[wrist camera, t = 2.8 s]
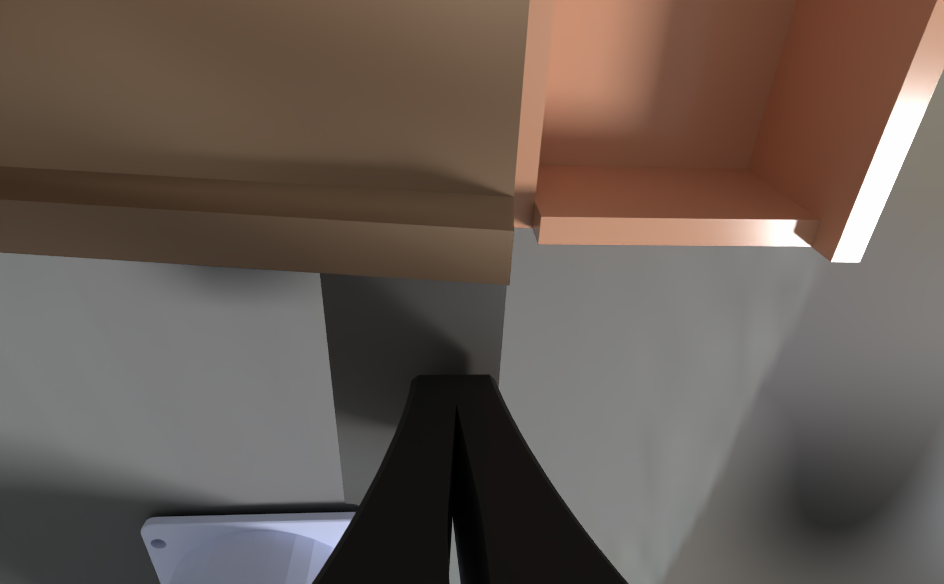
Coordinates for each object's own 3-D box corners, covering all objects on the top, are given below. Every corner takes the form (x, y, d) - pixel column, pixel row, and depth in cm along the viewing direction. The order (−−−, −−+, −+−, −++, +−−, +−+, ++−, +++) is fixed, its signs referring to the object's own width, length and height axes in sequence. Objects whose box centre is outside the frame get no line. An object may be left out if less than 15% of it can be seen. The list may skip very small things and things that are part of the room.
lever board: (489, 476, 13) (485, 577, 11) (-116, 431, 13) (-232, 519, 11) (555, -365, 6) (578, -526, 4) (-663, -399, 7) (-1196, -560, 5)
